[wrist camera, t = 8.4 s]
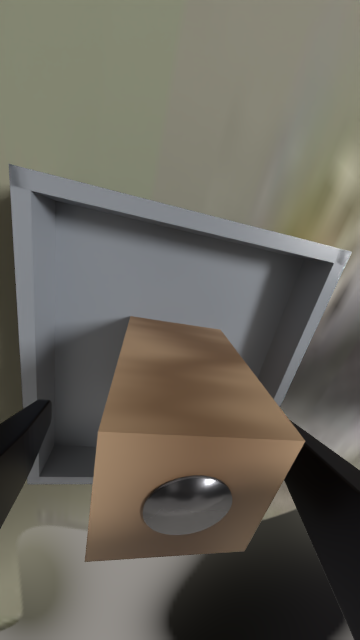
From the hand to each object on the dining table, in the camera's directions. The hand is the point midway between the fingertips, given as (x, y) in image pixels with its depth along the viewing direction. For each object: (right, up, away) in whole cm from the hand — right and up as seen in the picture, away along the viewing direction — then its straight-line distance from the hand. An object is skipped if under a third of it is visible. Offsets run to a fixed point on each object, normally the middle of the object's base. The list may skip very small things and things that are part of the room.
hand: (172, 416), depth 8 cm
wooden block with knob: (0, +1, +4) cm, 4 cm away
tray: (-1, +2, +4) cm, 5 cm away
